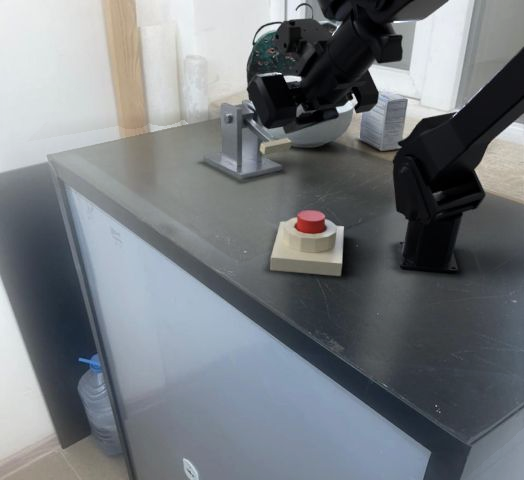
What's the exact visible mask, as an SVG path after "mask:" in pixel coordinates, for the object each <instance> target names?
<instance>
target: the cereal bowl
mask: <svg viewBox="0 0 524 480" xmlns="http://www.w3.org/2000/svg"><path fill="white" fill-rule="evenodd" d="M336 109H337V111H338V113H339V117H338V118H337V119H333V120H330V121H327V122H324V123H320V124H317V125H314V126H311V127H308V128H305V129H302V130H299V131H296V132H293V133H289V134H285V132H284V130H283V127H279V128H274V129H267V128H265V127H264V126H263V129H264V130H265V131H266V132H267V133H269V134H270V135H271V136H272V137H273V138H274V139H276V140H279V139H284V138H288V139H289V140H290V141H291V142H292V143H291V147H296V148H318V147H322V146H324V145H326V144H327V143H330V142H333V141H336V140H337V139H339V138H341V137H342V136H343V135H344V134H345V133H346V132H347V131H348V129H349V128H350V126H351V124H352V119H353V114H354V104H353V103H352V102H351V101H348V102H347V103H346V104H345V105H344V106H340V107H336Z"/></svg>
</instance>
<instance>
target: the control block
mask: <svg viewBox="0 0 524 480" xmlns="http://www.w3.org/2000/svg"><path fill="white" fill-rule="evenodd" d="M344 233H345V226H344V225H343V226H342V225H336V224H335V223H334V222H332V221H331V220H329V219H327V218H325V225H324V231H323V232H322V233H317V234H307V233H302V232H299V231H298V230H297V217H296V216H295V217H292V218H290V219H288V220H287V221H280V222H279V224H278V230H277V233H276V237H275V241H274V244H273V247H272V248H273V249H272V250H271V251H272V252H271V255H270V266H269V267H270V269H269V270H270V271H278V272H288V273H300V274H312V275H323V276H332V277H333V276H334V277H335V276H336V277H341V276H342V269H343V254H344V235H345V234H344Z"/></svg>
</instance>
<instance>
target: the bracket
mask: <svg viewBox="0 0 524 480" xmlns="http://www.w3.org/2000/svg"><path fill="white" fill-rule="evenodd" d="M241 104H244V105H245V106H247V107H248V108H249V109H250V110H251V111H253V112H254V114H253V120H254V121H255V122H256V123H257V124H258V125H259V126H260V127H262V128H263V125H262V123H261V121H260V118H259V116H258V114H257V112H256V109H255V107H254V105H253V103H252V101H249V99H242V100H241ZM263 129H264V128H263ZM220 136H221V137H220V138H221V140H220V141H221V142H220V143H221V151H219V152H215V153H211V154H205V155H203V156H202V158H203V159H202V161H204V162H205V163H207V164H209V165H212V166H214V167H216V168H218V169H220V170H221V171H223V172H225V173H228V174H230V175H231V176H233V177H235V178H237V179H240V180H245V179H250V178H254V177H258V176H259V177H260V176H262V175H267V174H271V173H275V172H279V171H282V170H283V169H282V168H283V166H282V164H279V163H277V162H275V161H273V160H271V159H268V158H267V157H265V156H264V157H263V153H262V152H261V151H260V146H261V143H263V141H262V140H261V139H260V138H259V137H258V136H256V135H255V134H254V133H253V132H252V131H251V130H250V129H249V128H244V129H242V108H239V107H236V106H234V104H230V103H228V102H221V103H220Z"/></svg>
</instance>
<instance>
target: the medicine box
mask: <svg viewBox="0 0 524 480" xmlns="http://www.w3.org/2000/svg"><path fill="white" fill-rule="evenodd" d="M377 90H378V92H379V97H378V103H377V104H376V105H375V106H374V107H373V108H372V109H371V110H370V111H368V112H362V113H361V122H360V127H359V128H360V129H359V139H358V140H360V141H362V142H364V143H366V144H367V145H369V146H371V147H373V148H375V149H377V150H379V151H380V152H383V151H384V152H385V151H386V152H387V151H393V150H399V149H400V148H401V146H399V145H398V142H399V141H402V140H403V135H404V128H405V124H406V123H405V122H406V117H407V109H408V102H409V100H408V98H407V97H404V96H402V95H399V94H397V93H394V92H391V91H389V90H386V89H377Z"/></svg>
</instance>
